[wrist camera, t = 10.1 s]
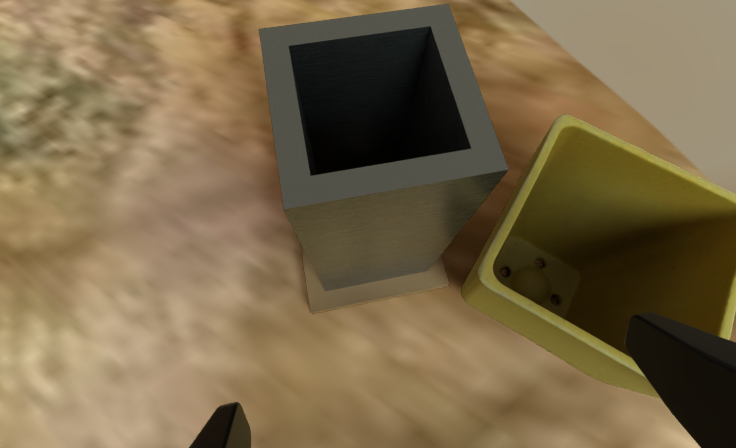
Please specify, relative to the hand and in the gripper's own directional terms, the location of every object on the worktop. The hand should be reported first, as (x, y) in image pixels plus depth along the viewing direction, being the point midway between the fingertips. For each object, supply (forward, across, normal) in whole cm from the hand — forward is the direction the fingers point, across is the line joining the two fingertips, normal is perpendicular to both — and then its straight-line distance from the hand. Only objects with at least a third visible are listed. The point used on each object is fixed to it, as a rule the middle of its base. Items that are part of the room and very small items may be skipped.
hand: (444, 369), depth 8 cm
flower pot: (+12, -9, +8) cm, 17 cm away
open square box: (+14, 0, +3) cm, 15 cm away
